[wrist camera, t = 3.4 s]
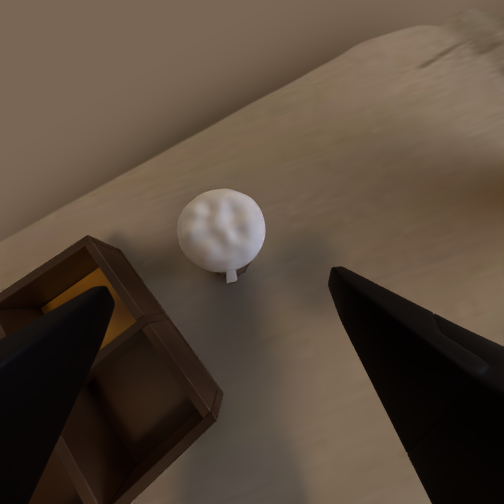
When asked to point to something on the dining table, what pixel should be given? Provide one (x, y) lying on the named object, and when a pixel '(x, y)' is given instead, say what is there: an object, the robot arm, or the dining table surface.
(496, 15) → the dining table surface
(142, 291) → the organiser
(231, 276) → the milkshake
